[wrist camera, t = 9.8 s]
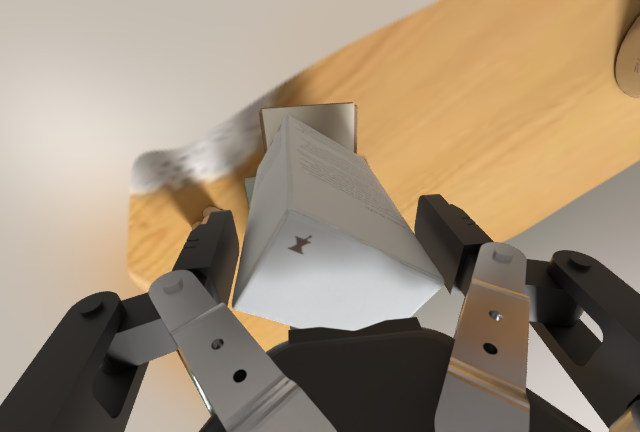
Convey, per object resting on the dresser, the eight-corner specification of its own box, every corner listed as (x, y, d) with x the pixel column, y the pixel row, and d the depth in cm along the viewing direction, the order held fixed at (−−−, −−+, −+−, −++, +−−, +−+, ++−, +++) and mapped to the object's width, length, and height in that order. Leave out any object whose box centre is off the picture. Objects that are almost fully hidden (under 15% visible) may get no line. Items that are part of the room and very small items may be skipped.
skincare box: (255, 169, 20) (222, 310, 9) (286, 111, 18) (287, 202, 8) (333, 207, 22) (376, 357, 11) (366, 158, 20) (453, 281, 10)
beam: (358, 95, 21) (379, 109, 16) (354, 321, 32) (365, 367, 28) (251, 102, 20) (241, 118, 16) (286, 329, 32) (286, 377, 27)
